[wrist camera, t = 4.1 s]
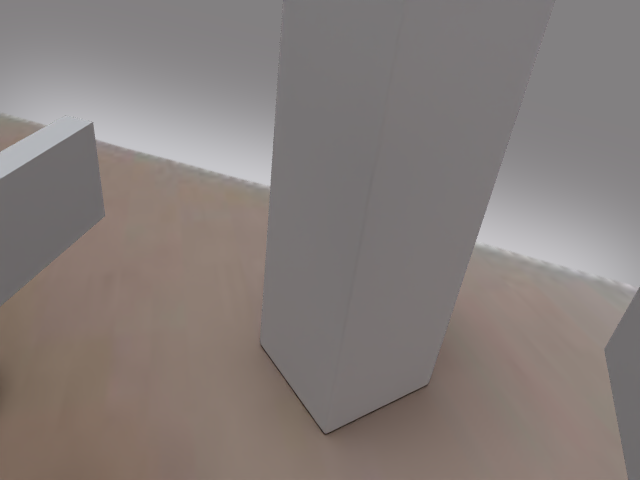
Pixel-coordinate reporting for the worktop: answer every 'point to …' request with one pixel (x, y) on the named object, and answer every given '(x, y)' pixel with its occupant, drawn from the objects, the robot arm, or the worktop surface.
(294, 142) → the milk
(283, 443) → the worktop surface
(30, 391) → the worktop surface
